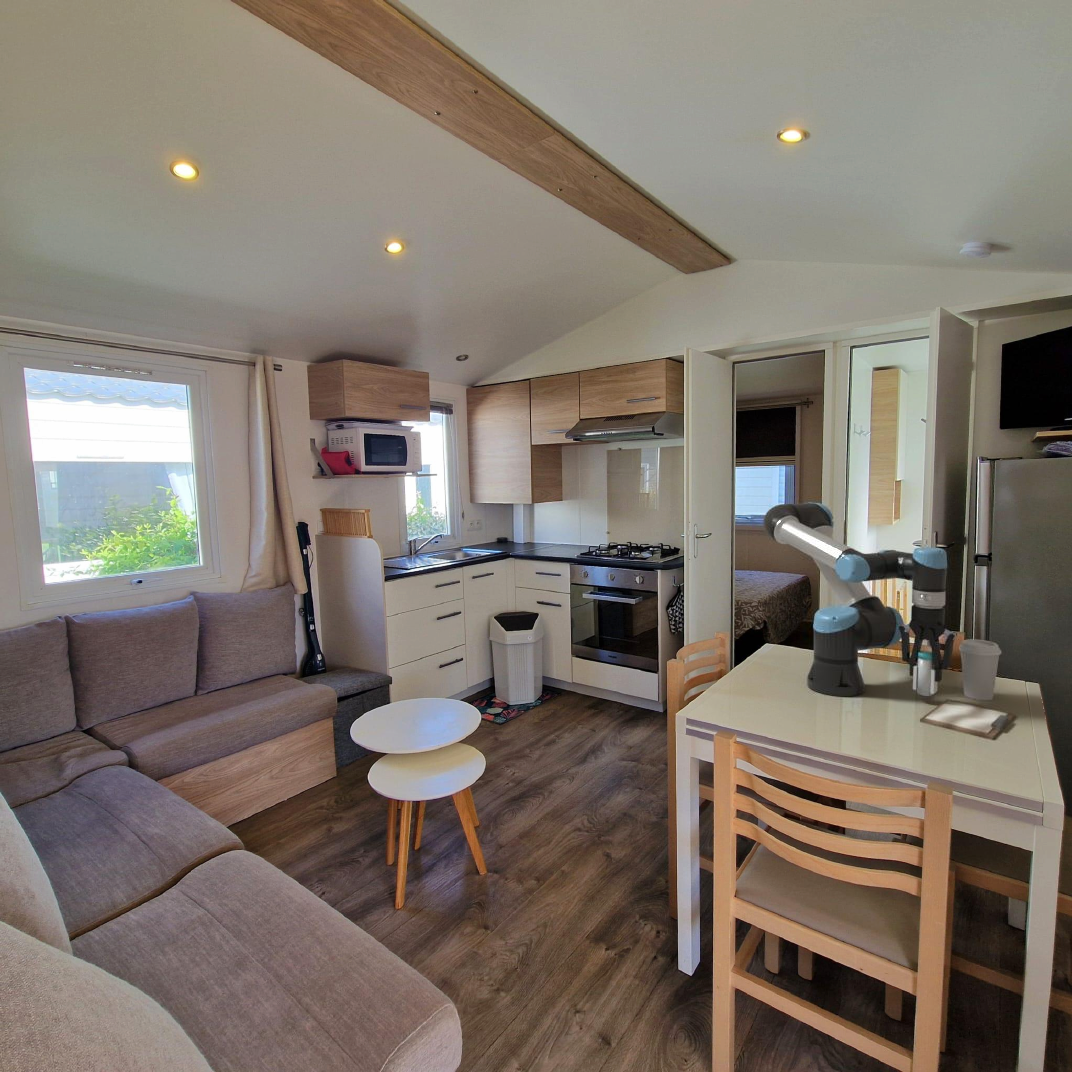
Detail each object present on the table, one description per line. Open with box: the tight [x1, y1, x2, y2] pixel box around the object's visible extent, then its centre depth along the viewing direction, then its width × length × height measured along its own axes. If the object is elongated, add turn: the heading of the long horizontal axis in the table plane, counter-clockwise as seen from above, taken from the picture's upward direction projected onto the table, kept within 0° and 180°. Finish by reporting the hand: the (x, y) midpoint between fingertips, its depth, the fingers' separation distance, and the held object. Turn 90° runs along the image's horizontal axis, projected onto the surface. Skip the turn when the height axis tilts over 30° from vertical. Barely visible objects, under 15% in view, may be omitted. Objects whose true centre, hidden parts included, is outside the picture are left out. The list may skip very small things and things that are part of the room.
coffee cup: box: [958, 638, 1002, 701], centre depth 168 cm, size 10×10×15 cm
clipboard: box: [919, 698, 1017, 741], centre depth 154 cm, size 15×20×2 cm
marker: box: [916, 650, 934, 700], centre depth 166 cm, size 4×4×13 cm
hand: (924, 690), depth 166 cm, fingers closed on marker, 3 cm apart
